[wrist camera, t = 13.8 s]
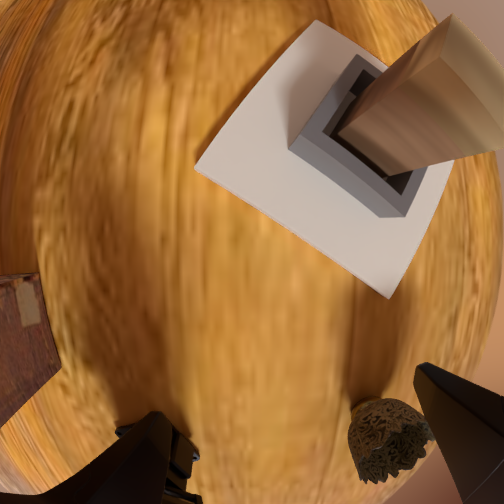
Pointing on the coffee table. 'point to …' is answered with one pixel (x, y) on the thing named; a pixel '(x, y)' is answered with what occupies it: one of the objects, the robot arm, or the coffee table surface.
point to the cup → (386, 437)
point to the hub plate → (323, 162)
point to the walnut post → (428, 105)
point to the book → (23, 342)
